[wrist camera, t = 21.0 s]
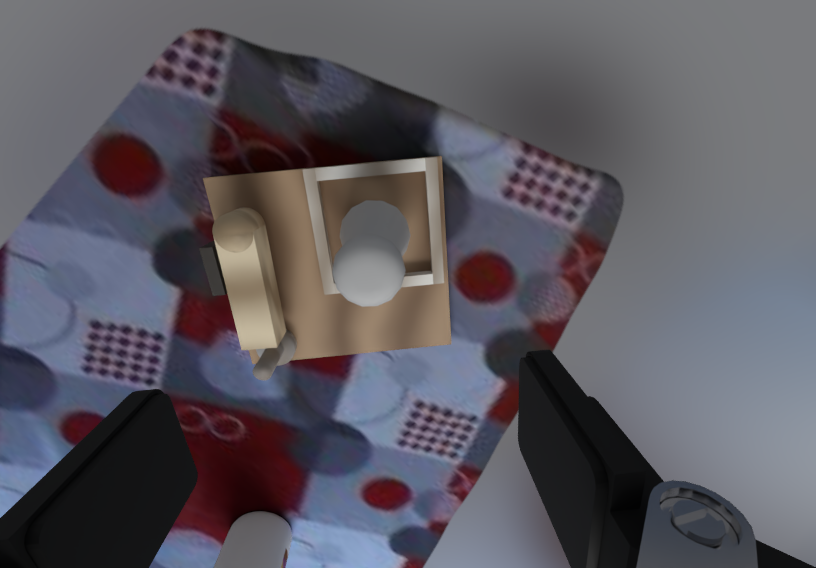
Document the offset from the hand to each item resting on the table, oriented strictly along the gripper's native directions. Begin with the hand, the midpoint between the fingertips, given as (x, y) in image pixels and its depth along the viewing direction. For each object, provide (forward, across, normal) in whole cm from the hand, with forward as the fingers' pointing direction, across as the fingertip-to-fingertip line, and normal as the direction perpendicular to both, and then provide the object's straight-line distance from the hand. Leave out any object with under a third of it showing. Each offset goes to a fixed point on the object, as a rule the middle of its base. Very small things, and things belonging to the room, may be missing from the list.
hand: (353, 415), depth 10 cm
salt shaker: (+25, 0, 0) cm, 25 cm away
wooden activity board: (+26, +4, +4) cm, 27 cm away
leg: (+23, +11, +3) cm, 26 cm away
